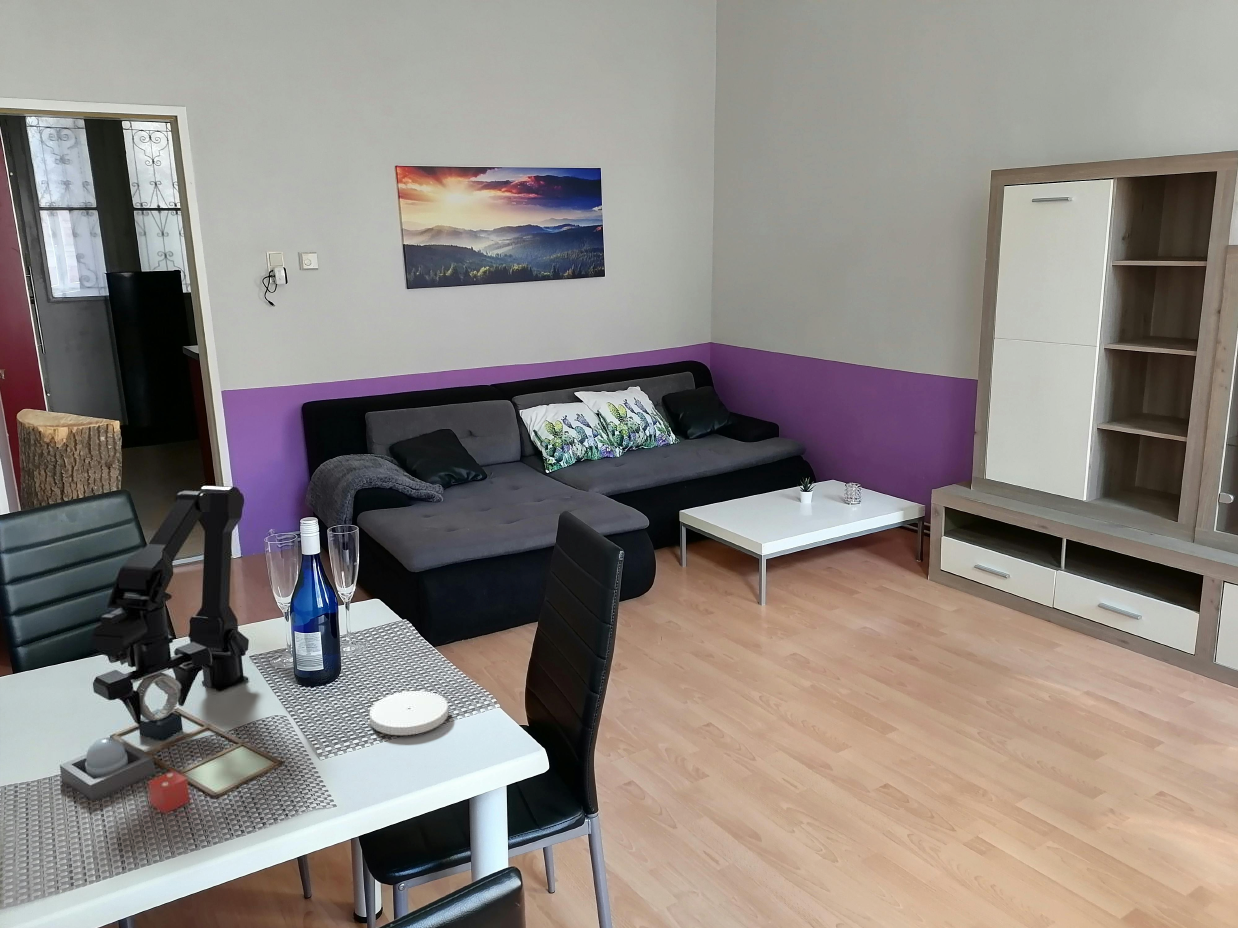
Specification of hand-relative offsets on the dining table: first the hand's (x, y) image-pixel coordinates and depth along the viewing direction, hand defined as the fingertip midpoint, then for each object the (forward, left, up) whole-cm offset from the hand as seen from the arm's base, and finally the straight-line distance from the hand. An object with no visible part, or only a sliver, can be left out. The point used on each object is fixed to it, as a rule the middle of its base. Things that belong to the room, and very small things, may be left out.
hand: (159, 714), depth 169 cm
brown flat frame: (0, +11, -4) cm, 11 cm away
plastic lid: (-29, +32, -4) cm, 44 cm away
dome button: (+13, +7, -2) cm, 15 cm away
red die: (+11, +22, -4) cm, 25 cm away
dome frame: (+13, +7, -4) cm, 15 cm away
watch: (0, 0, -4) cm, 4 cm away
